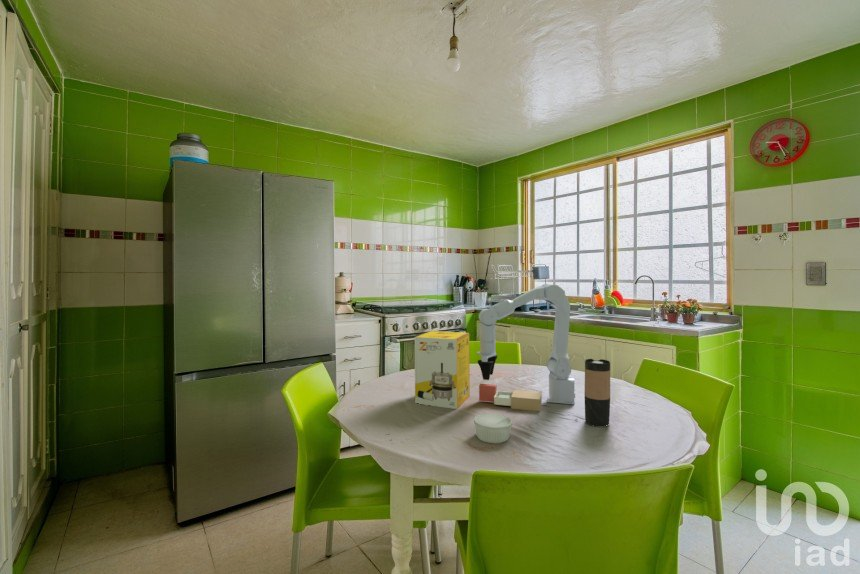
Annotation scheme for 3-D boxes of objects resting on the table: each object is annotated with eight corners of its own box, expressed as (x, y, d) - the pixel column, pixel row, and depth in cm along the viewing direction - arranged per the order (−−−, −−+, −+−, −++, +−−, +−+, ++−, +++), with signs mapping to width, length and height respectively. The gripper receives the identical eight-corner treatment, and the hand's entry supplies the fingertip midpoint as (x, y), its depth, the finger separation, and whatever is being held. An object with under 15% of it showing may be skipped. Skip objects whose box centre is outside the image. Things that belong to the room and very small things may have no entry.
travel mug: (598, 429, 125) (599, 364, 124) (579, 421, 131) (579, 360, 131) (615, 424, 128) (615, 362, 127) (595, 416, 135) (595, 357, 134)
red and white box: (522, 400, 151) (522, 385, 150) (520, 406, 143) (520, 390, 143) (481, 396, 155) (481, 381, 155) (477, 402, 148) (477, 387, 148)
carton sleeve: (541, 403, 149) (541, 392, 149) (540, 411, 141) (540, 399, 140) (514, 400, 152) (514, 389, 152) (511, 408, 144) (511, 396, 144)
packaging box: (415, 403, 150) (414, 337, 149) (431, 391, 165) (430, 330, 164) (456, 409, 144) (456, 339, 143) (469, 396, 159) (469, 332, 158)
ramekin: (512, 446, 113) (512, 428, 113) (472, 444, 115) (472, 425, 115) (512, 431, 124) (512, 414, 124) (475, 428, 126) (475, 412, 126)
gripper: (480, 337, 159) (481, 371, 160) (473, 343, 145) (473, 381, 146) (498, 338, 157) (499, 372, 158) (492, 344, 143) (492, 382, 144)
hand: (487, 376), depth 152 cm, fingers open, 7 cm apart
